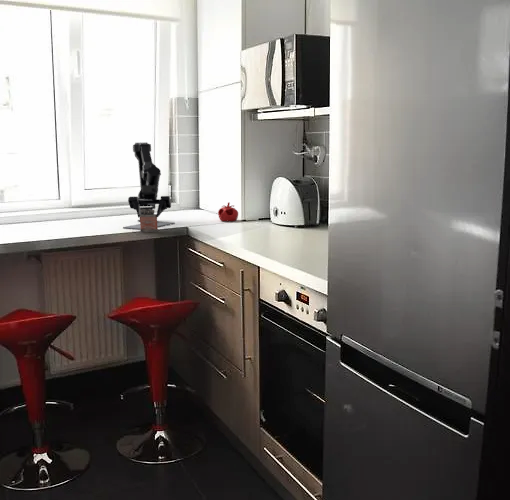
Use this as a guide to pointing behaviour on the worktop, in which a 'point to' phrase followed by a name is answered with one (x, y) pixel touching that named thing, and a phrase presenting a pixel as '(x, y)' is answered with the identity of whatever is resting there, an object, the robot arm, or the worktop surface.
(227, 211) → the pomegranate
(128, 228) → the mat
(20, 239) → the worktop surface
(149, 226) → the lighter
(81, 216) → the worktop surface
